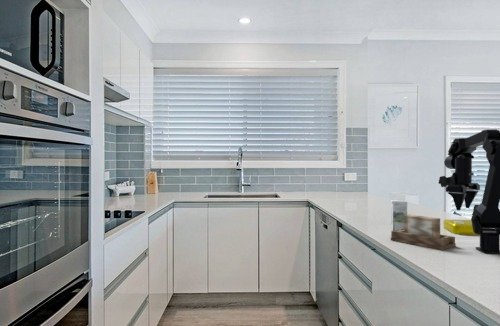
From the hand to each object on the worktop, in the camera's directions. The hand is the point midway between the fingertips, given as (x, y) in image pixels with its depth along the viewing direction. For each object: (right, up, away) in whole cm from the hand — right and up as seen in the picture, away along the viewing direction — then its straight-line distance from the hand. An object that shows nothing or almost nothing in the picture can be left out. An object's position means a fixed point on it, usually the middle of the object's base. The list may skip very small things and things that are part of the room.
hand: (463, 209), depth 141 cm
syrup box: (-20, -12, +12) cm, 27 cm away
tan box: (-19, -11, -5) cm, 23 cm away
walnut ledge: (-19, -12, -5) cm, 23 cm away
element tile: (+11, -13, +16) cm, 24 cm away
